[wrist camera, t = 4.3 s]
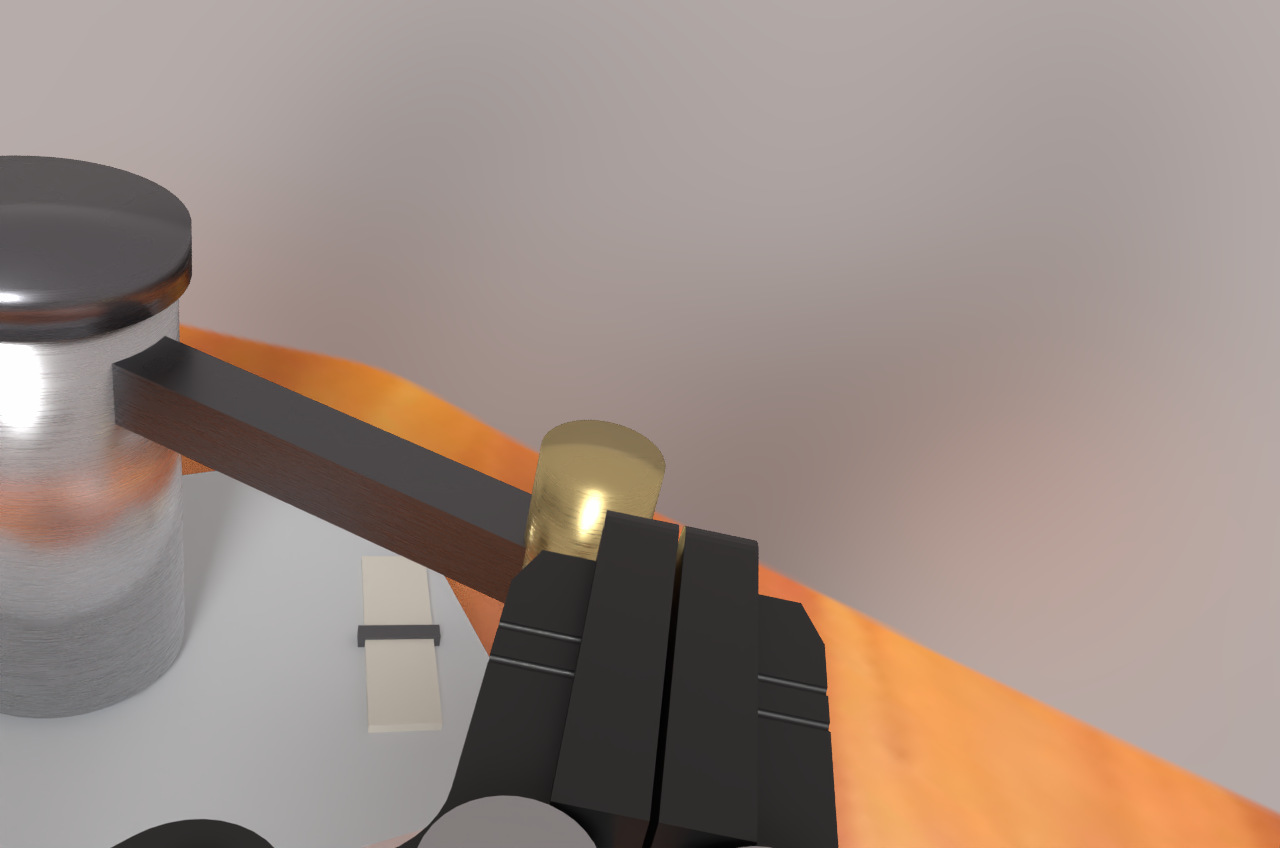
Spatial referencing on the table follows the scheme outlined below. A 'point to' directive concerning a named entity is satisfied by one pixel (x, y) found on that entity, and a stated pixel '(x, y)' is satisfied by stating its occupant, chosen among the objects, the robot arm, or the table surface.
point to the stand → (267, 696)
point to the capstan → (204, 449)
